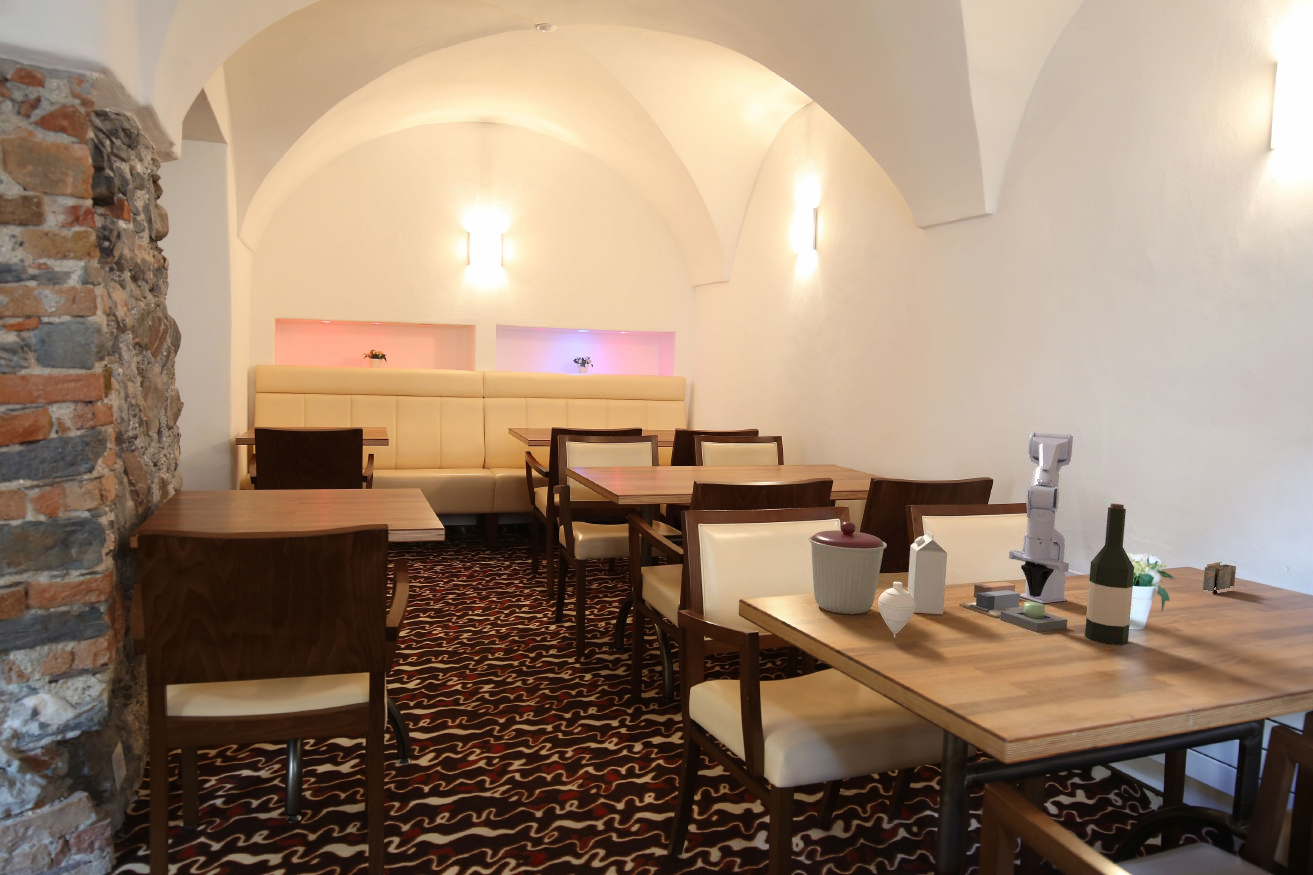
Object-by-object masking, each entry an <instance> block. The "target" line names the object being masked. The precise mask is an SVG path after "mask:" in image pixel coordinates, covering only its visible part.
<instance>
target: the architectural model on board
mask: <svg viewBox="0 0 1313 875" xmlns="http://www.w3.org/2000/svg"><path fill="white" fill-rule="evenodd" d="M1222 562H1223V561H1219V562H1218V561H1217V562H1213V563H1208V564H1206V566H1204V573H1203V574H1204V575H1203V583H1202V584H1203V586H1202V591H1203V590H1208V591H1213V592H1215V591H1214V588H1215V587H1216V590H1220V589H1225V588H1230V586H1234V587H1235V583H1236V573H1237V572H1236V571H1237V565H1231V564H1226V563H1225V564H1222Z"/></svg>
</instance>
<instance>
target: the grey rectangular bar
mask: <svg viewBox="0 0 1313 875" xmlns="http://www.w3.org/2000/svg"><path fill="white" fill-rule="evenodd" d="M1020 594H1021V593H1020V592H1017V591H1015V592H1014V591H1010V590H1004V591H994V592H984V593H977V596H976V598H975V602H976V606H979V607H982V608H985V609H988V610H996V609H1005V608H1014V607H1019V606H1020V598H1021V597H1020Z"/></svg>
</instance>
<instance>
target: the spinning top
mask: <svg viewBox="0 0 1313 875" xmlns="http://www.w3.org/2000/svg"><path fill="white" fill-rule="evenodd" d="M892 585H893V586H892V587H890V588H888V589H886V590H884V591H883V592H882V593H881V594H880V596H879V597H878V600H877V607H878V610H879V613H880V615H881V617H882V619H883V621H884V622H885V624H886V626H887V627H888V629H889V630H890V631H891V633H893V639H896V635H897V634H898V633H899V632H901V630H902V629H903V628H904V627H905V626H906V625H907V623H908V622H910V620H911V618H912V617H913V615H914V614H915V612H914V611H915V601H914V599H913V597H912V596H911V595H910V593H909V592H908V590H905V589H903V582H901V581H893V582H892Z"/></svg>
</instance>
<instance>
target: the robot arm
mask: <svg viewBox="0 0 1313 875" xmlns="http://www.w3.org/2000/svg"><path fill="white" fill-rule="evenodd" d="M1073 438H1074V437H1073V435H1072V434H1071V433H1068V434H1065V433H1064V434H1063V433H1049V432H1048V433H1047V432H1035V431H1032V432H1030V435H1029V439H1028V440H1029V441H1028V455H1029V459H1030V462H1031V463H1034V464H1036V465H1038V466H1037V467H1036V468H1035V469H1034V470H1033V472H1032V477H1031V482H1030V483H1031V484H1030V487H1028V489H1027V493H1026V518H1027V522H1026V532H1025V533H1024V537H1023V540H1022V550H1021V551H1019V550H1015V549H1014V550H1009V553H1008V559H1009V560H1016V561H1020V562H1022V563H1023V562H1024V564H1021V566H1020V567H1021V568H1020V569H1021V570H1022V573H1023V574H1024V576H1025V588H1024V592H1023V593H1022V592H1021V593H1020V598H1023V599H1026V600H1030V601H1032V602H1036V603H1041V604H1046V603H1057V602H1058V603H1059V602H1065V601H1067V600H1068V599H1067V598H1065V588H1066V587H1065V586H1066V573H1068V572H1069V567H1070V565H1069V564H1070V563H1069V562H1066V561H1065V560H1064V559H1065V548H1066V545H1065V541H1066V539H1065V537H1064V535H1063V534H1062V533H1061V532H1060V531H1058V530H1057V529H1056V528H1055V524H1056V523H1055V522H1056V513H1057V512H1058V508H1059V502H1060V499H1059V498H1060V490H1059V482H1060V471H1061V469H1062V468H1063V467H1065V466H1068V465H1070V462H1071V459H1072V455H1073V454H1072V453H1073V443H1074V442H1073V441H1074V439H1073Z"/></svg>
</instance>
